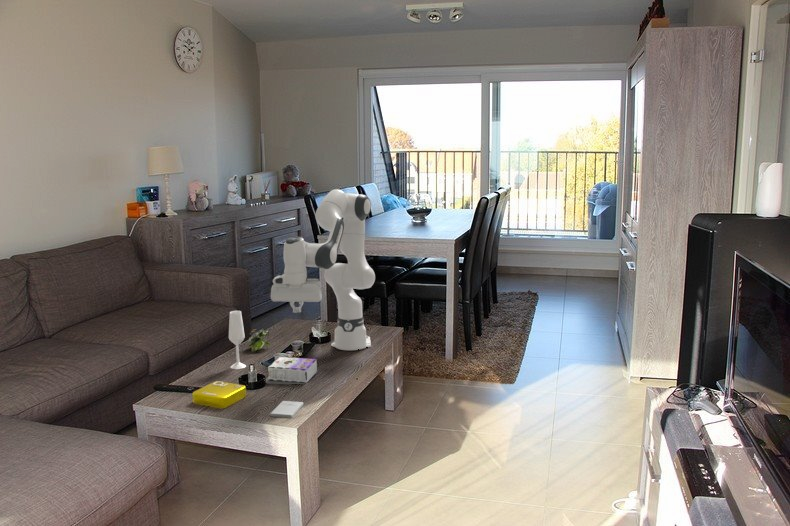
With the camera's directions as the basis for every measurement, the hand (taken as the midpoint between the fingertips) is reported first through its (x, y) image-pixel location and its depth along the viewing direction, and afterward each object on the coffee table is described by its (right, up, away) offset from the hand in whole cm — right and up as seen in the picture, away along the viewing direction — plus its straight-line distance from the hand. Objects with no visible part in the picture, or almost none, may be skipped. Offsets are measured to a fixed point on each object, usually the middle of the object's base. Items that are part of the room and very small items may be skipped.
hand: (297, 312), depth 278 cm
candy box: (+6, -24, +4) cm, 25 cm away
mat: (-4, -27, +5) cm, 28 cm away
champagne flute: (-28, -25, +20) cm, 43 cm away
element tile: (-26, -32, -18) cm, 45 cm away
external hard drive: (0, -34, -29) cm, 45 cm away
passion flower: (-24, -21, +45) cm, 55 cm away
